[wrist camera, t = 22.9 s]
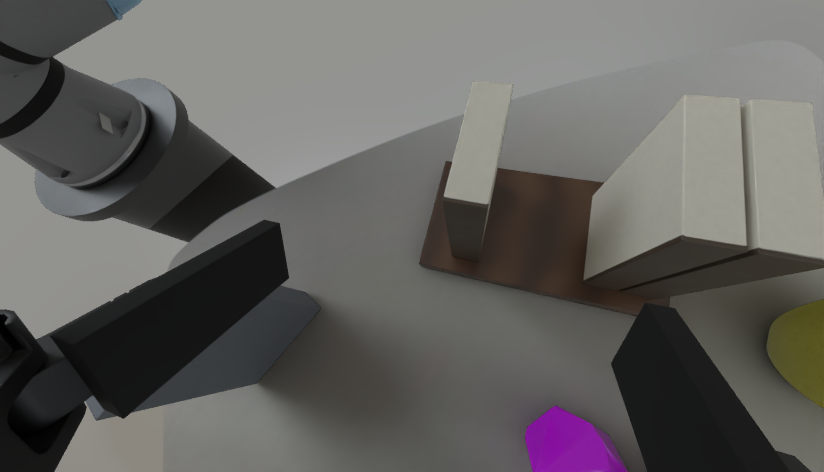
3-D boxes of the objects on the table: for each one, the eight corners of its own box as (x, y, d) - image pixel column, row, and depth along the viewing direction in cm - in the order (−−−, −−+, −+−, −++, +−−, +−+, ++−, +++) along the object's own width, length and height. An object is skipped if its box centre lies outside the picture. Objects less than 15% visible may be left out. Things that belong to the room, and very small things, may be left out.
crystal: (577, 502, 21) (606, 545, 17) (511, 444, 23) (522, 469, 19) (615, 439, 22) (651, 465, 18) (548, 387, 24) (566, 399, 19)
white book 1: (478, 262, 26) (487, 208, 15) (451, 256, 27) (441, 200, 16) (495, 182, 29) (514, 83, 17) (470, 178, 29) (472, 80, 18)
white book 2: (615, 291, 24) (748, 251, 13) (582, 283, 24) (681, 240, 13) (622, 200, 26) (741, 97, 15) (591, 195, 26) (684, 93, 15)
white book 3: (655, 299, 23) (833, 266, 12) (620, 292, 24) (759, 253, 12) (658, 205, 25) (813, 102, 14) (626, 200, 26) (750, 98, 15)
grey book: (256, 383, 28) (94, 421, 16) (241, 364, 29) (76, 385, 17) (321, 308, 29) (217, 289, 17) (304, 291, 30) (194, 262, 18)
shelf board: (421, 266, 29) (418, 263, 27) (446, 168, 32) (445, 160, 30) (657, 321, 24) (669, 320, 22) (661, 199, 27) (672, 192, 25)
